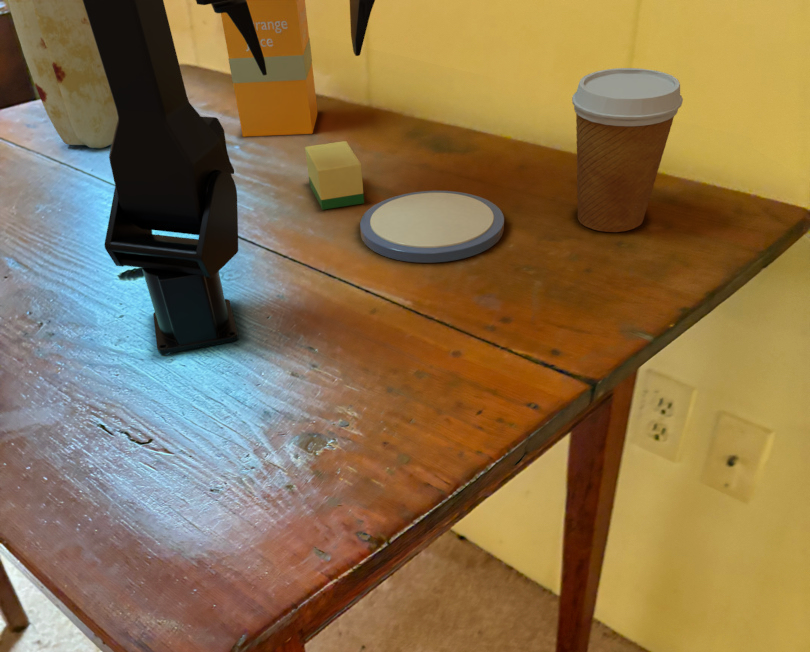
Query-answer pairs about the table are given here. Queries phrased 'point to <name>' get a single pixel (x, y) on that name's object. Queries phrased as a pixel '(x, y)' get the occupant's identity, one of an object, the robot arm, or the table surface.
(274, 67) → the orange juice
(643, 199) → the disposable coffee cup
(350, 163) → the sponge
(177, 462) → the table surface
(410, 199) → the plate
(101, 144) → the food model
